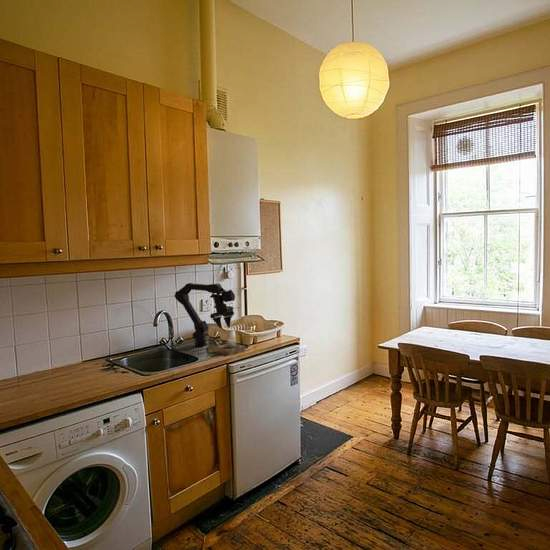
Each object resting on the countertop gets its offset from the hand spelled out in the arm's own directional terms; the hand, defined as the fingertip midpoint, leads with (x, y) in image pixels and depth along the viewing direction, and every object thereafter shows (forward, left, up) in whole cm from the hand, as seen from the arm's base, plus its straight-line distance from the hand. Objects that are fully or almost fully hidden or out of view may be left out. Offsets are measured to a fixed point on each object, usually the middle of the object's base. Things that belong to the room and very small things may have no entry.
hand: (224, 327), depth 250 cm
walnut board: (+8, -9, -12) cm, 17 cm away
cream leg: (+10, -10, -12) cm, 18 cm away
